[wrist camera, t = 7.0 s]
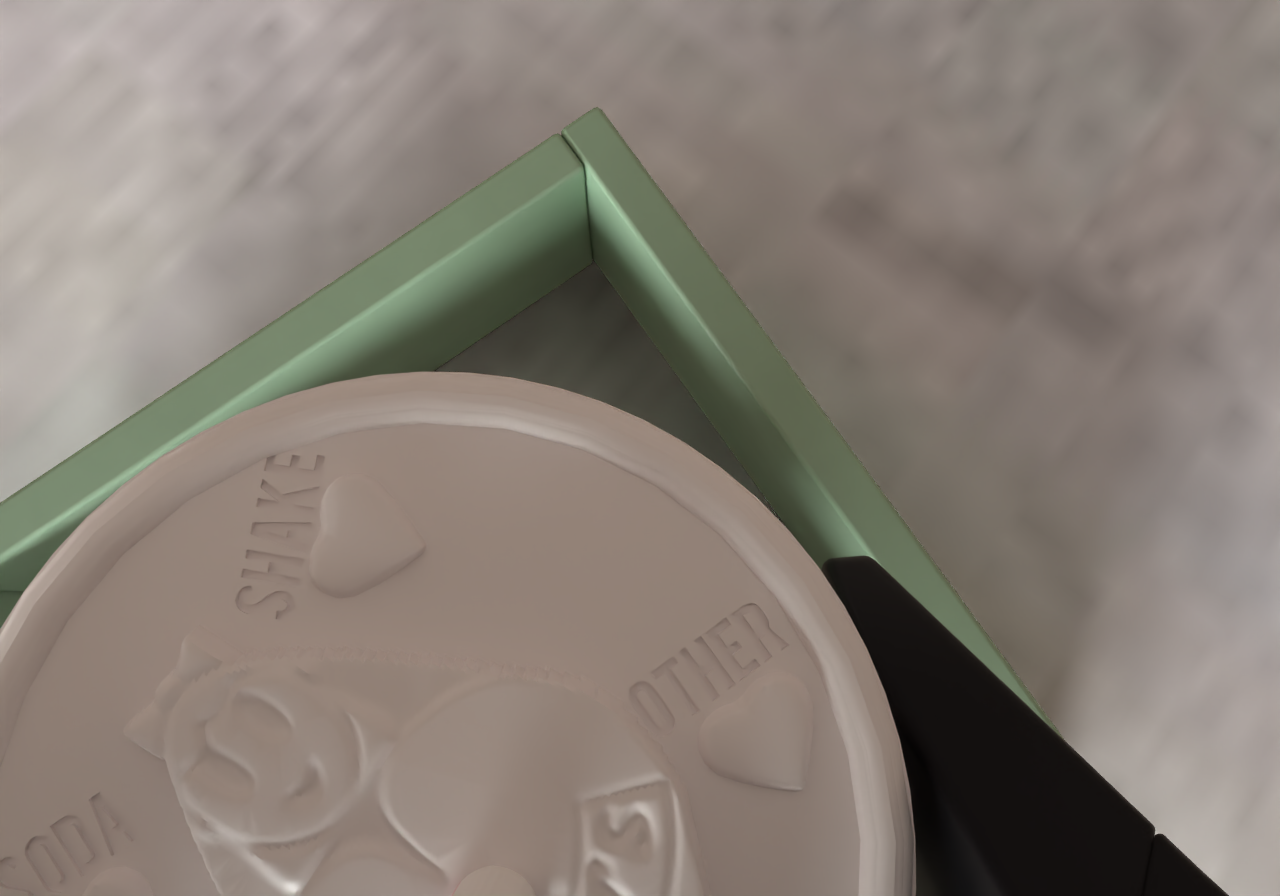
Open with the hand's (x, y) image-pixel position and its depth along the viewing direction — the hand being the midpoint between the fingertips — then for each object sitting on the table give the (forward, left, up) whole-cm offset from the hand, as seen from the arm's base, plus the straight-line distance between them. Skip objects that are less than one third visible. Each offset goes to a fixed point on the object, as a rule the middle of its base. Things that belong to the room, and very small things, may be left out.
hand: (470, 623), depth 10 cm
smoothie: (-1, +1, -7) cm, 7 cm away
